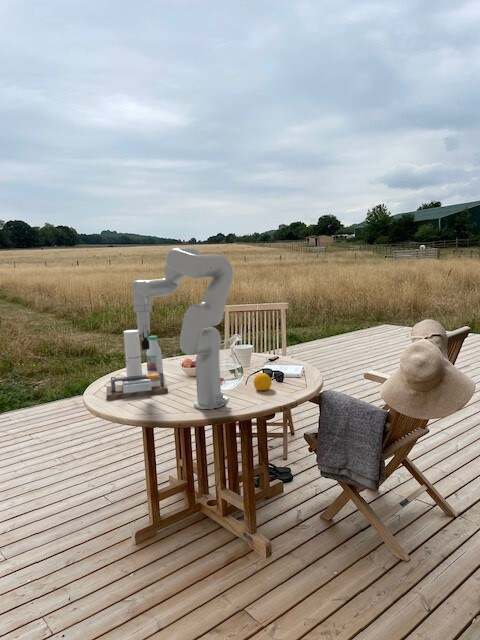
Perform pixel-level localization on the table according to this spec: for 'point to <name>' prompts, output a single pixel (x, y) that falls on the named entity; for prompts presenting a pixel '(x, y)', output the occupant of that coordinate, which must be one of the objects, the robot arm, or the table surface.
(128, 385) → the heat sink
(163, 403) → the table surface
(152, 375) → the lever
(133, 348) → the cylindrical container
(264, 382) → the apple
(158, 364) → the milk bottle
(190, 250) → the robot arm
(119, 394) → the mounting board
